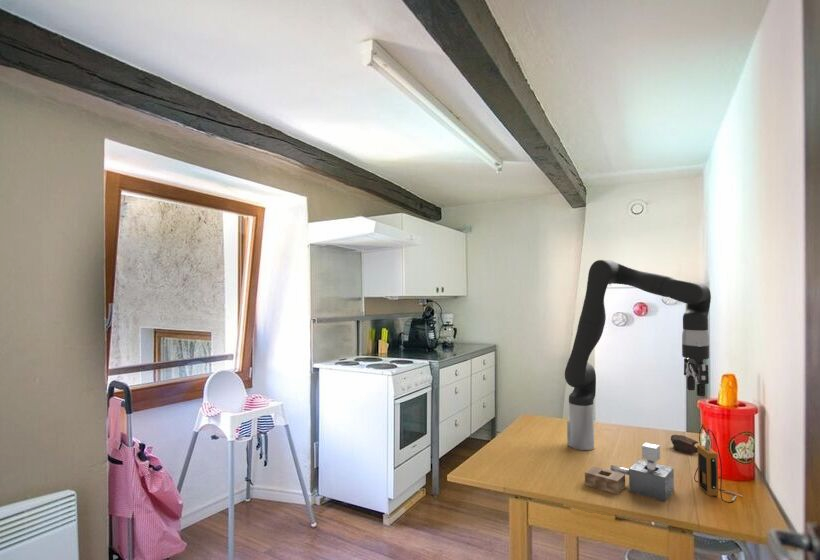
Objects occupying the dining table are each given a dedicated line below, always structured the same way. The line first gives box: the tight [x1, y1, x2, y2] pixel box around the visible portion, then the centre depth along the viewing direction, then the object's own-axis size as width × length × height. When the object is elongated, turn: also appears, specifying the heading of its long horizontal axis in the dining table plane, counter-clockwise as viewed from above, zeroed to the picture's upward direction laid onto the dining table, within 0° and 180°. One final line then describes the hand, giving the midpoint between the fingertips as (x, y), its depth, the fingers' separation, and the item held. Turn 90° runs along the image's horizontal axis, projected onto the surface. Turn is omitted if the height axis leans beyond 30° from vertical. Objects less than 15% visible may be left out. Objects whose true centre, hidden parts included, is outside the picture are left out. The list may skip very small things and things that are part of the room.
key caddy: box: [584, 465, 626, 495], centre depth 145 cm, size 10×7×4 cm
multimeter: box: [693, 424, 743, 504], centre depth 140 cm, size 15×10×20 cm
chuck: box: [609, 459, 675, 502], centre depth 143 cm, size 17×10×7 cm, turn 47°
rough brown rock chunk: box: [670, 434, 699, 454], centre depth 176 cm, size 6×7×10 cm
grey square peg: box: [641, 442, 661, 471], centre depth 141 cm, size 4×4×12 cm
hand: (695, 393), depth 149 cm, fingers open, 8 cm apart
